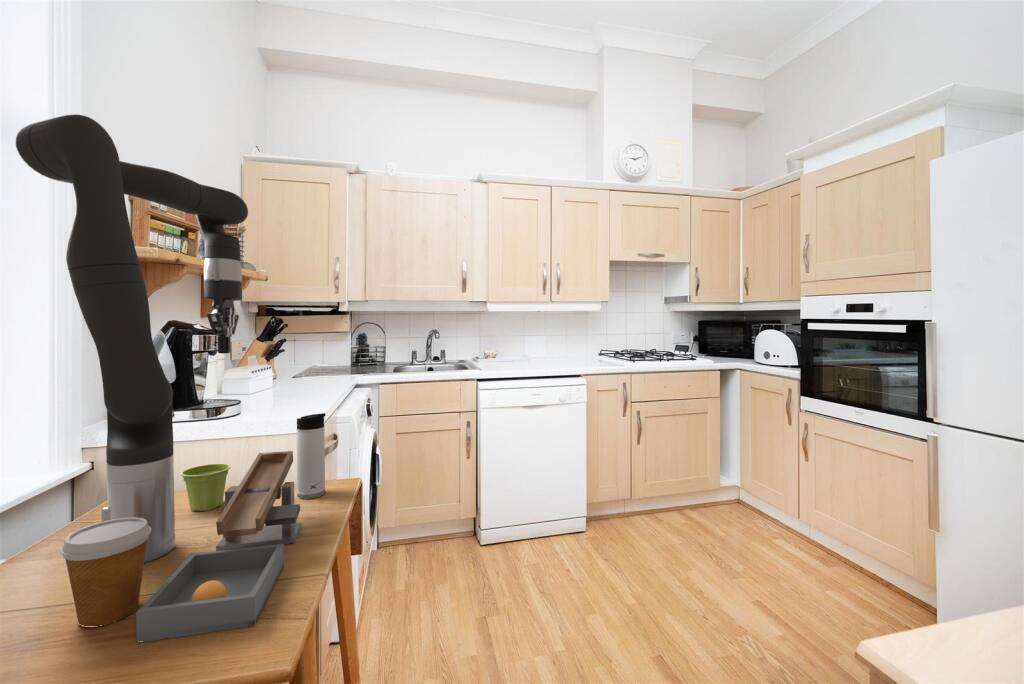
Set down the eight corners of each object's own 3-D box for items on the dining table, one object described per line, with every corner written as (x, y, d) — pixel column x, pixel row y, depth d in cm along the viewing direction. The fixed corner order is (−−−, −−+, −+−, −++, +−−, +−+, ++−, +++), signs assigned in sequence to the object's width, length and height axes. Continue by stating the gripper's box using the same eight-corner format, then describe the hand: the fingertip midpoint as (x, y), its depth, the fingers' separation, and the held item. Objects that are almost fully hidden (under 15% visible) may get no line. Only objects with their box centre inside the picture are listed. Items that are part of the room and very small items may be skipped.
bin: (136, 643, 57) (136, 612, 57) (191, 578, 72) (191, 553, 72) (254, 625, 60) (254, 596, 60) (283, 567, 75) (283, 543, 75)
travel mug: (319, 499, 106) (318, 416, 106) (292, 499, 106) (291, 416, 106) (330, 490, 112) (330, 411, 112) (304, 490, 112) (304, 411, 112)
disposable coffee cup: (150, 586, 70) (148, 510, 69) (155, 615, 63) (153, 530, 62) (64, 612, 63) (62, 529, 63) (58, 647, 56) (56, 553, 56)
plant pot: (179, 505, 102) (179, 468, 102) (227, 496, 108) (227, 460, 108) (182, 518, 95) (182, 478, 95) (234, 507, 101) (233, 469, 101)
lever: (219, 548, 74) (216, 522, 73) (261, 473, 97) (259, 452, 95) (293, 540, 77) (291, 515, 76) (317, 469, 99) (316, 449, 98)
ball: (184, 597, 59) (197, 576, 63) (187, 622, 60) (200, 600, 64) (218, 592, 60) (229, 572, 64) (221, 617, 61) (231, 596, 65)
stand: (215, 551, 81) (215, 496, 80) (230, 534, 87) (229, 483, 87) (293, 543, 84) (293, 489, 84) (301, 527, 91) (301, 478, 90)
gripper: (216, 282, 110) (217, 352, 110) (192, 275, 97) (193, 355, 97) (250, 283, 112) (251, 352, 112) (230, 276, 99) (232, 354, 99)
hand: (224, 353), depth 105 cm, fingers closed
